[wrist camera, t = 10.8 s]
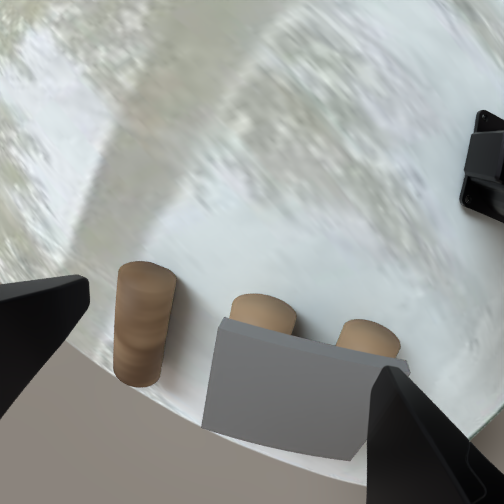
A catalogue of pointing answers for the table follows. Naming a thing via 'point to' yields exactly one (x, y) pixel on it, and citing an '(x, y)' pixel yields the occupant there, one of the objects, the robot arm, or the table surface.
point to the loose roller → (141, 321)
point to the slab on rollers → (294, 380)
